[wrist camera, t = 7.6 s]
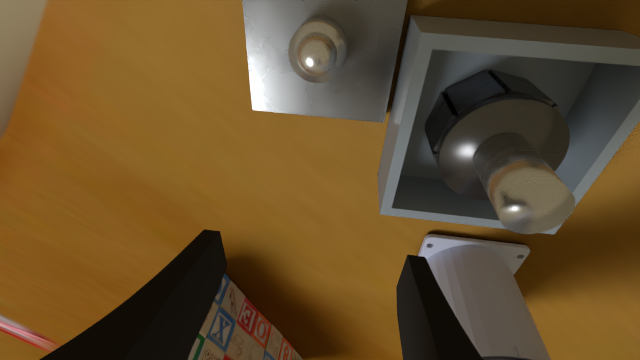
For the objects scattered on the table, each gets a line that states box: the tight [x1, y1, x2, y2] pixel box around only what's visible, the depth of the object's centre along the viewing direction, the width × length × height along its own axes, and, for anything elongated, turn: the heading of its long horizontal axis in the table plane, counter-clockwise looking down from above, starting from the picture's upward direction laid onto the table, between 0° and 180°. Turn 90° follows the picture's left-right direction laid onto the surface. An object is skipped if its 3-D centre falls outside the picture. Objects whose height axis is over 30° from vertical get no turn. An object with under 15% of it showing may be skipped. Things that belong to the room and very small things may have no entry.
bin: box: [378, 15, 640, 235], centre depth 17 cm, size 10×10×4 cm
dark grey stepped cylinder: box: [424, 69, 576, 234], centre depth 15 cm, size 6×6×8 cm
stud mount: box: [242, 0, 408, 123], centre depth 16 cm, size 8×8×4 cm
